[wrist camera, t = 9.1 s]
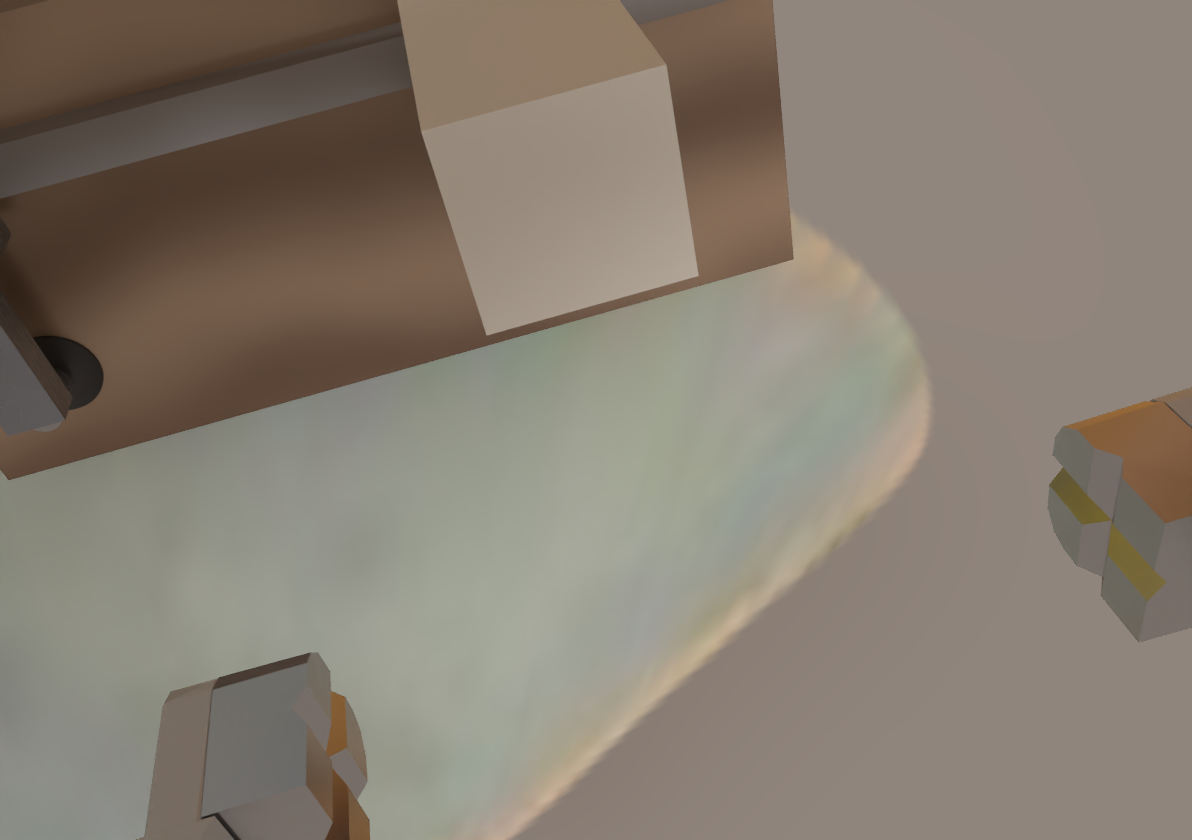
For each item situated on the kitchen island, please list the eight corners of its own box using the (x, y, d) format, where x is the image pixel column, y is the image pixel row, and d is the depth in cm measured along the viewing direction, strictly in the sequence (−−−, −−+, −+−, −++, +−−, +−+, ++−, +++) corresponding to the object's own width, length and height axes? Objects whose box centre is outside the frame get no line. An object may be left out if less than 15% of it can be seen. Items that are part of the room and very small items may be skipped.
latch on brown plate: (776, 235, 33) (805, 276, 31) (20, 447, 32) (0, 502, 30) (736, -198, 25) (771, -181, 23) (-263, 66, 24) (-314, 108, 22)
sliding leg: (624, 239, 29) (725, 454, 22) (487, 278, 29) (542, 508, 22) (555, -104, 23) (661, 33, 16) (383, -58, 23) (411, 101, 16)
